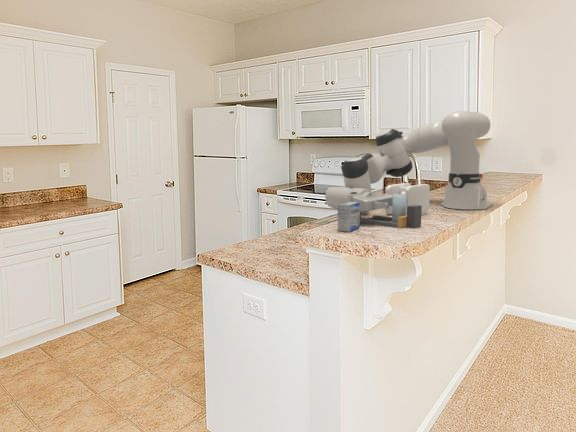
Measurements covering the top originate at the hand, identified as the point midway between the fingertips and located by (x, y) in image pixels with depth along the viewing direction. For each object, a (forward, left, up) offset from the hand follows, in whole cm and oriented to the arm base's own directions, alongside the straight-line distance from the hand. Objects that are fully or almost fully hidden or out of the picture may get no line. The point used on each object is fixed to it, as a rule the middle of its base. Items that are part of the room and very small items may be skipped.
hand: (395, 204), depth 157 cm
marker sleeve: (0, +1, -7) cm, 7 cm away
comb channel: (0, -2, -7) cm, 7 cm away
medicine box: (+18, -6, -7) cm, 20 cm away
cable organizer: (-20, -8, -7) cm, 23 cm away
